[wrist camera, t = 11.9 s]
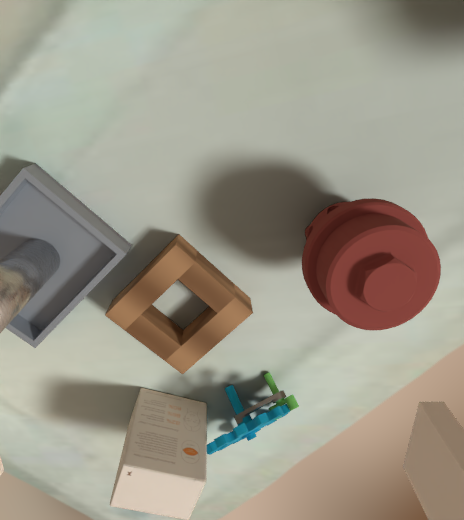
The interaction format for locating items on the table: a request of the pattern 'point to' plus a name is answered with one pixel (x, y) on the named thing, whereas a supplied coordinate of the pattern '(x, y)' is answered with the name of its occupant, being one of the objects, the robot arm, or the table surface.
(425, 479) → the robot arm
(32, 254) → the pin
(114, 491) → the small box
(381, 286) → the mechanical component
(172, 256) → the socket
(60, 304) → the tray
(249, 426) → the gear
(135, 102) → the table surface
